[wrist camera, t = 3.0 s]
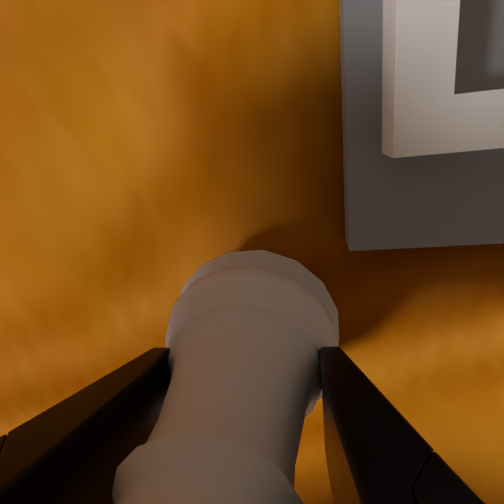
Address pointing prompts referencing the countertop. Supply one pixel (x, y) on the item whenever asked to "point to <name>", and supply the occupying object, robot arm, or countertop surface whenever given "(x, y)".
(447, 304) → the countertop surface
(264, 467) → the rook chess piece
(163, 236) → the countertop surface
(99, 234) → the countertop surface
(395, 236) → the collar plate
